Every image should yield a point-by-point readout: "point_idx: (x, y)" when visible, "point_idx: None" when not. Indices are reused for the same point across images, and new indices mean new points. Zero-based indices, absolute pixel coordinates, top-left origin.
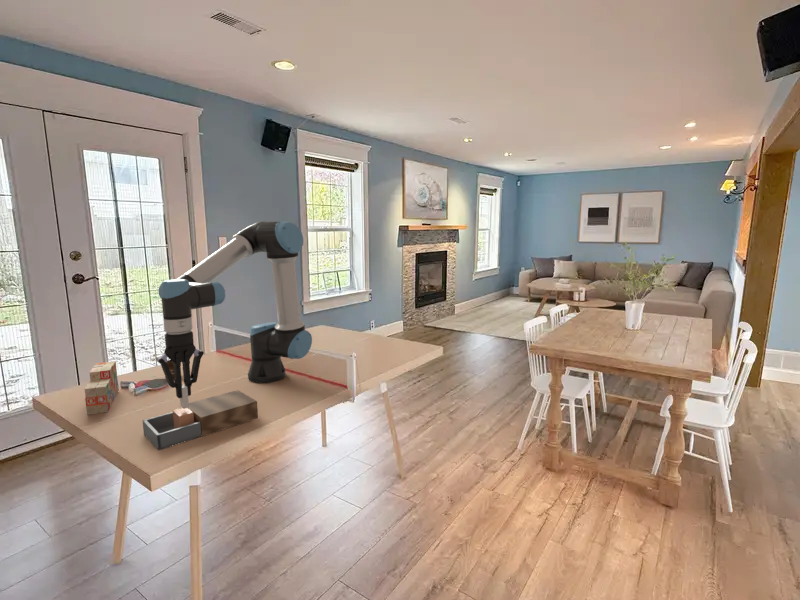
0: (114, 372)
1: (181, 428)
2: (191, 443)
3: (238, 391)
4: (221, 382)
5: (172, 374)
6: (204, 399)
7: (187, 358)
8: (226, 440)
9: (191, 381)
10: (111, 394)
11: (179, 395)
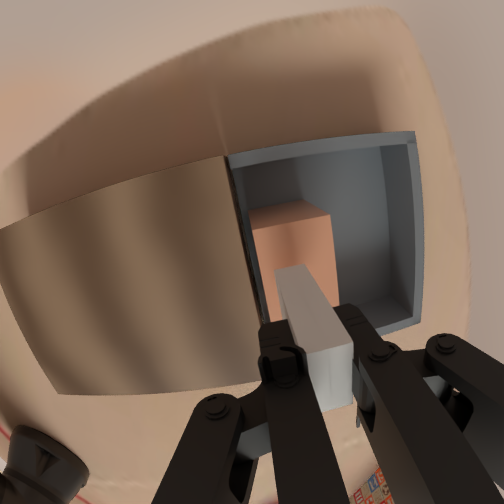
0: None
1: (321, 139)
2: (274, 116)
3: (53, 381)
4: (148, 487)
5: None
6: (179, 386)
7: None
8: (150, 74)
9: (253, 413)
10: (384, 484)
11: (350, 315)
